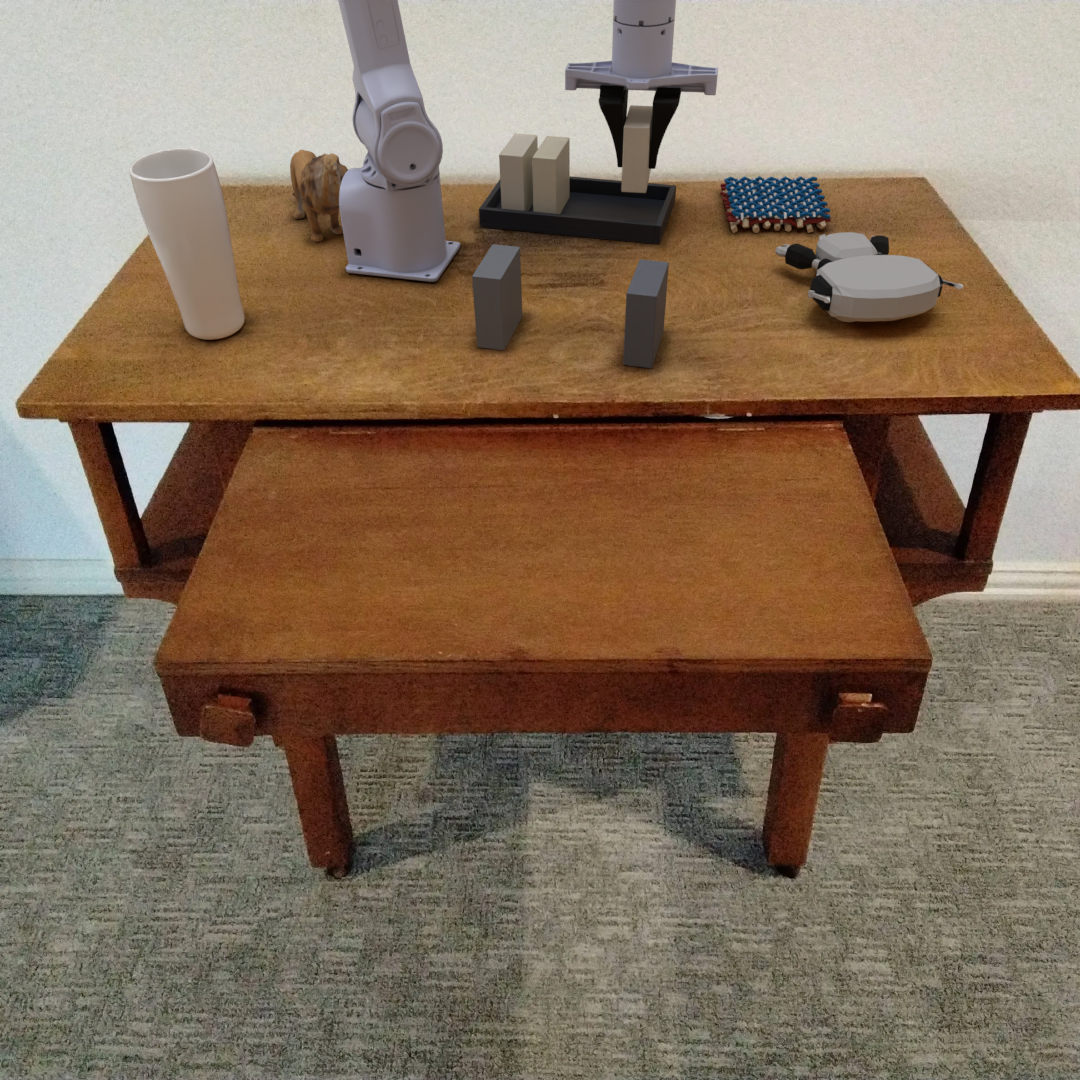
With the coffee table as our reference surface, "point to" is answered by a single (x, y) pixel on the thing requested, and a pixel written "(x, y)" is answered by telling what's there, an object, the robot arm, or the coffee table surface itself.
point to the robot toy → (865, 278)
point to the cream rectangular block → (636, 149)
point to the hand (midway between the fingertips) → (636, 164)
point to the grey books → (503, 304)
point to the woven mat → (774, 203)
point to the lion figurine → (317, 188)
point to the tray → (591, 212)
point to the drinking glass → (191, 237)
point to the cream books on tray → (535, 173)
